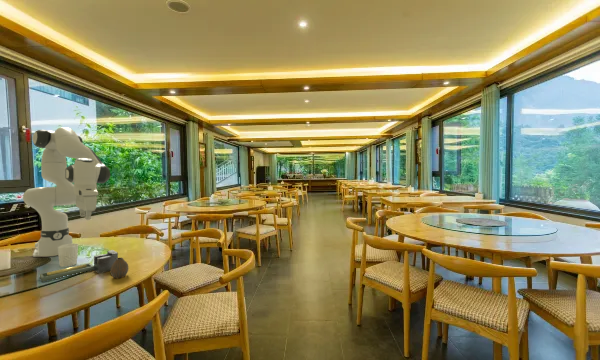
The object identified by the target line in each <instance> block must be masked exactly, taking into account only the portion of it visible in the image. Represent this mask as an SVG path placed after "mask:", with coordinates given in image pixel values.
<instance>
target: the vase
mask: <svg viewBox="0 0 600 360" xmlns="http://www.w3.org/2000/svg"><path fill="white" fill-rule="evenodd" d="M128 272H129V264H128V262H127V261H126V260H125V259H124V258H123V257H118V258H117V259H116V261H115V262H114V263H113V265H112V266H111V271H110V274H111V277H113V278H114V279H121V278H124V277H125V276H126V275H127V274H128Z"/></svg>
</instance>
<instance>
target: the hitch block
mask: <svg viewBox="0 0 600 360" xmlns="http://www.w3.org/2000/svg"><path fill="white" fill-rule="evenodd" d="M106 252H107V253H103V254H98V255H93V266H94V270H93V271H95V272H96V273H97V274H103V273H106V272H111V266H112V265H113V263H114V262H115V261H116V259H117V258H119V253H118V252H117V251H115V250H114V249H110V250H107V251H106Z"/></svg>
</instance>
